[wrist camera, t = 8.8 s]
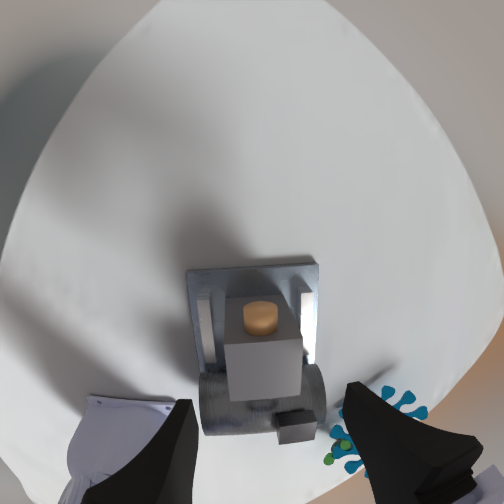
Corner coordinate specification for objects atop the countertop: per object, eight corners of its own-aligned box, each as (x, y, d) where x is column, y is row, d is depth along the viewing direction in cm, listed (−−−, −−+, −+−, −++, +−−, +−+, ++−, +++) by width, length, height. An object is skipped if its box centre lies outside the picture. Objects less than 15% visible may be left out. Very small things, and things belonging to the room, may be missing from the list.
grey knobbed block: (229, 347, 20) (230, 401, 15) (223, 281, 19) (221, 323, 13) (283, 343, 21) (299, 395, 15) (283, 277, 19) (304, 317, 14)
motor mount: (206, 400, 22) (202, 460, 16) (187, 270, 19) (167, 313, 13) (309, 391, 23) (329, 447, 16) (316, 262, 20) (353, 299, 13)
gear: (410, 367, 21) (443, 452, 16) (403, 366, 26) (432, 438, 21) (303, 417, 24) (336, 498, 19) (315, 408, 29) (343, 478, 24)
